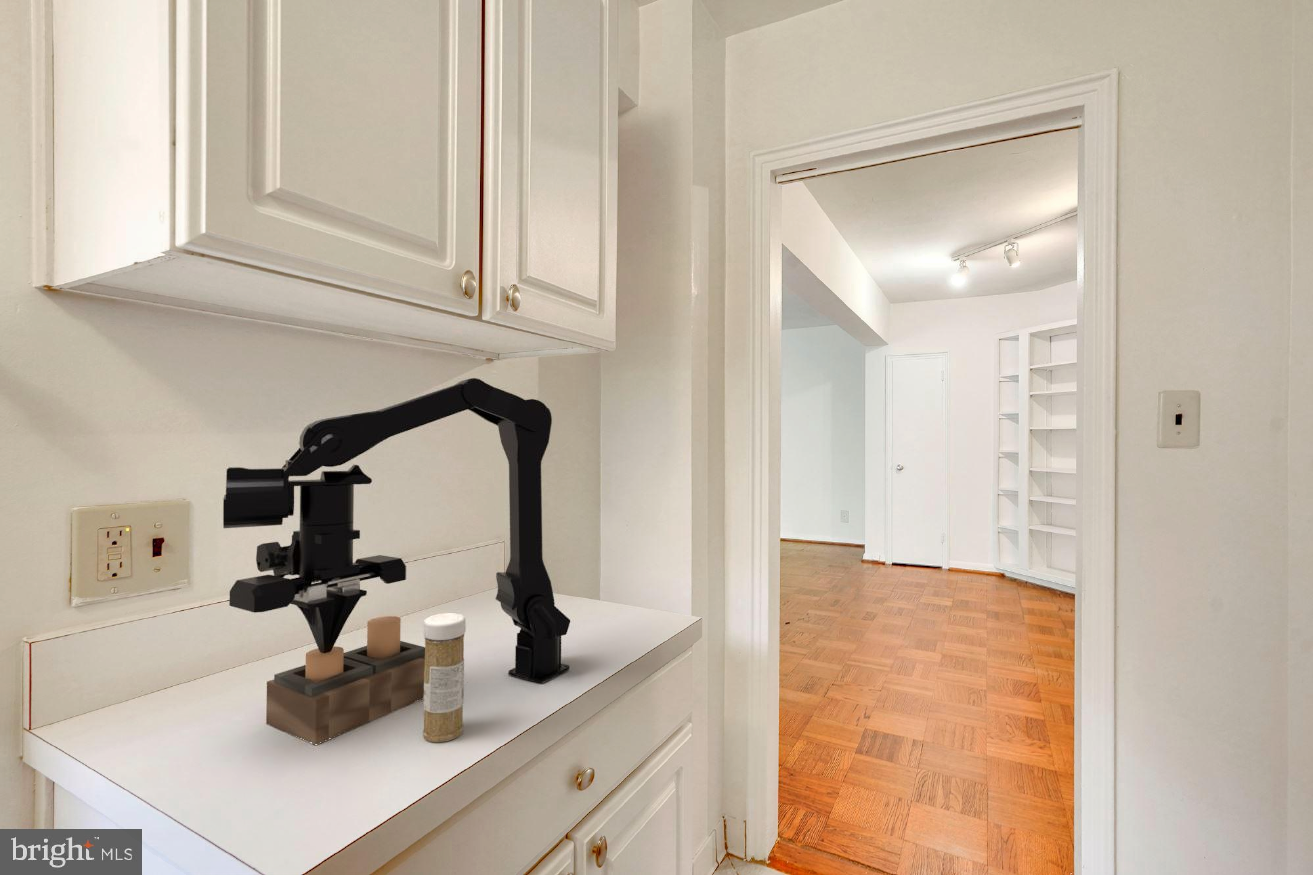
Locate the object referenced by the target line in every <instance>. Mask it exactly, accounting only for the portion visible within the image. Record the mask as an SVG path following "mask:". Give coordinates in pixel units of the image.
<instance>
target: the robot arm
mask: <svg viewBox="0 0 1313 875" xmlns="http://www.w3.org/2000/svg"><path fill="white" fill-rule="evenodd" d="M467 410H468V411H470V412H472V413H474V414H475V415H477V416H478V417H480V418H482V419H483V420H484V421H486V422H489V423H491V424H493V425H495V426H497V427H498V428H497V429H498V433H499V434H498V435H499V438H500V443H501V444H500V445H501V446H502V449H503V451H504V454H505V456H506V459H507V461H508V484H509V485H508V490H509V492H508V493H509V501H508V502H509V551H510V552H509V553H510V554H509V555H510V558H509V562H508V565H507V567H506V571H505V572H502V571H501V572H500V571H499V572H498V571H497V572H496V576H495V577H496V584H497V594H496V596H495V600H496V601H498V602H499V603H500V607H501V609H502V611H503V612H504V613H505V614H506V615H507V616H509V617H510V618H511V620H512V623H513V625H514V626H516V627H518V628H520V630H519V632H517V633H516V645H515V648H514V649H515V651H514V652H515V658H514V659H515V663H514V664H515V666H514V667H513V668H511V669H509V670H508V672H507V674H508V675H509V676H513V677H517V678H519V679H520V678H521V679H525V680H528V681H531V682H535V683H539V684H542V683H545V682H548V681H549V680H551V679H554V678H555V677H556V676H559V675H561V674H562V673H564V672H567V671H569V670H570V665H569V664H566V663H562V636H566V635H567V633H568V630H569V627H570V623H571V619H570V618H569V617H568V616H566V614H564V613H563V612H562V611H561V610H560V609H559V608H558V607H557V606H556V604H555V598H554V591H553V586H552V582H551V579H550V575H549V573H548V570H547V568H546V565H545V562H544V559H543V556H544V555H543V502H542V501H543V499H542V498H543V497H542V493H543V492H542V489H543V488H542V463H543V462H542V461H543V458H544V456H545V454H546V450H547V449H548V445H549V442H550V438H551V432H552V431H551V430H552V424H553V417H552V412H551V410H550V408H548V407H547V406H546V404H545V403H544V402H542V401H541V400H539V399H533V398H530V399H524V398H522V397H521V396H518V395H516V394H514V393H511V392H508V391H507V390H506V391H505V390H503V389H501V388H498V387H495V386H492V385H490V384H489V383H487V382H485V381H483V380H482V379H480V378H476V377H472V378H467V379H463V380H461V381H458V382H457V383H455V384H454V385H451V386H447V387H444V388H442V389H438V390H435V391H432V392H429V393H426V394H423V395H420V396H417V397H413V398H411V399H408V400H405V401H402V402H399V403H395V404H393V405H390V406H387V407H384V408H381V409H377V410H374V411H373V410H372V411H368V412H367V411H366V412H360V413H354V414H353V413H352V414H347V415H341V416H334V417H326V418H324V419H323V418H322V419H318V420H315V421H313V422H311V423H309V424H308V425H306V426H305V427H304V428H303V430H302V431H301V434H300V436H299V441H298V444H299V447H298V449H297V450H296V451H295V452H294V453H293V455H292V456H290V457H289V459H285V463H284V464H283V466H281V468H279V467H278V468H248V467H241V466H239V467H238V466H235V467H234V466H232V467H231V466H229V467H228V468H227V469H226V480H225V494H224V496H223V505H222V506H223V507H222V508H223V510H222V513H223V515H222V517H223V518H222V520H223V522H222V523H223V524H222V526H223V527H222V528H223V529H238V528H254V527H272V526H273V527H274V526H282V525H283V522H284V521H283V520H284V519H289V517H290V516H291V517H293V516H294V515H295V514H294V513H295V512H294V511H295V487H299V530H293V531H292V532H293V533H292V535H291V544H290V545H286V546H285V545H283V546H281V544H280V542H279V541H272V542H266V543H261V544H258V545H257V546H256V556H255V562H256V567H257V570H258V571H259V572H260V573H263V572H269V571H272V572H273V574H264V575H258V576H254V577H253V576H252V577H247V578H242V579H237V580H236V581H235V583H234V584H233V585H232V586H231V588H230V589H229V602H228V604H229V607H233V608H236V609H240V610H243V611H247V612H251V613H255V614H256V613H264V612H269V611H274V610H278V609H282V608H286V607H288V606H290V605H293V606H296V607H297V609H299V610H300V612H301V613H302V615H303V616H304V618H305V620H306V622H307V624H308V626H309V629H310V631H311V634H312V636H313V638H314V639H313V640H314V641H315V643H316V646H317V648H318V649H319V651H320V652H321V653H327V652H330V651H331V650H332V648H333V646H335V644H336V643H337V640H338V638H339V636H340V634H341V632H342V631H343V628H344V626H345V624H346V623H347V621H348V618H350V616H351V613H352V612H353V611H354V609H355V608H356V607H357V604H358V602H359V601H360V599H361V598H362V597H366V596H367V594H368V591H367V590H365V589H361V583H360V582H361V581H366V580H371V579H377V578H379V579H380V580H381V581H382V582H383V583H384V584H387V585H388V584H394V583H399V582H403V581H406V580H407V565H406V563H405V562H404V560H403V559H402V557H401V558H400V557H395V556H388V555H381V554H377V555H373V556H366V557H361V558H357V559H356V560H355V561H354V540H359V539H360V538H361V530H360V529H354V505H355V502H354V501H355V500H354V498H355V495H354V494H355V490H354V489H355V485H370V484H371V483H372V482H373V479H372V478H371V477H370V476H368V474H366V473H364V471H363V470H362V469H361V467H360V466H359V465H358V464H352V466H351V467H350V468H348V469H347V470H329V471H328V470H326V471H324V470H322V471H321V474H320V479H302V480H301V479H300V480H296V479H295V480H293V479H292V480H291V479H290V478H289V477H306V476H309V475H311V474H312V473H313V472H315V471H317V470H318V469H320V468H322V467H325V468H326V467H328V468H333V467H334V468H335V467H337V466H342V465H344V464H346V463H348V462H350V461H352V460H354V459H355V458H357V457H359V456H360V455H362V454H364V453H366V452H367V451H369V450H371V449H372V448H374V447H375V446H376V445H379V444H380V443H382V442H383V441H385V440H387V439H389V438H390V437H394V436H397V435H399V434H402V433H405V432H408V431H410V430H414V429H416V428H419V427H422V426H425V425H428V424H431V423H433V422H436V421H438V420H441V419H445V418H447V417H450V416H452V415H453V416H454V415H455V414H458V413H459V414H460V413H461V412H464V411H467ZM289 479H290V480H289ZM286 576H298V577H294V578H287V577H286Z"/></svg>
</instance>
